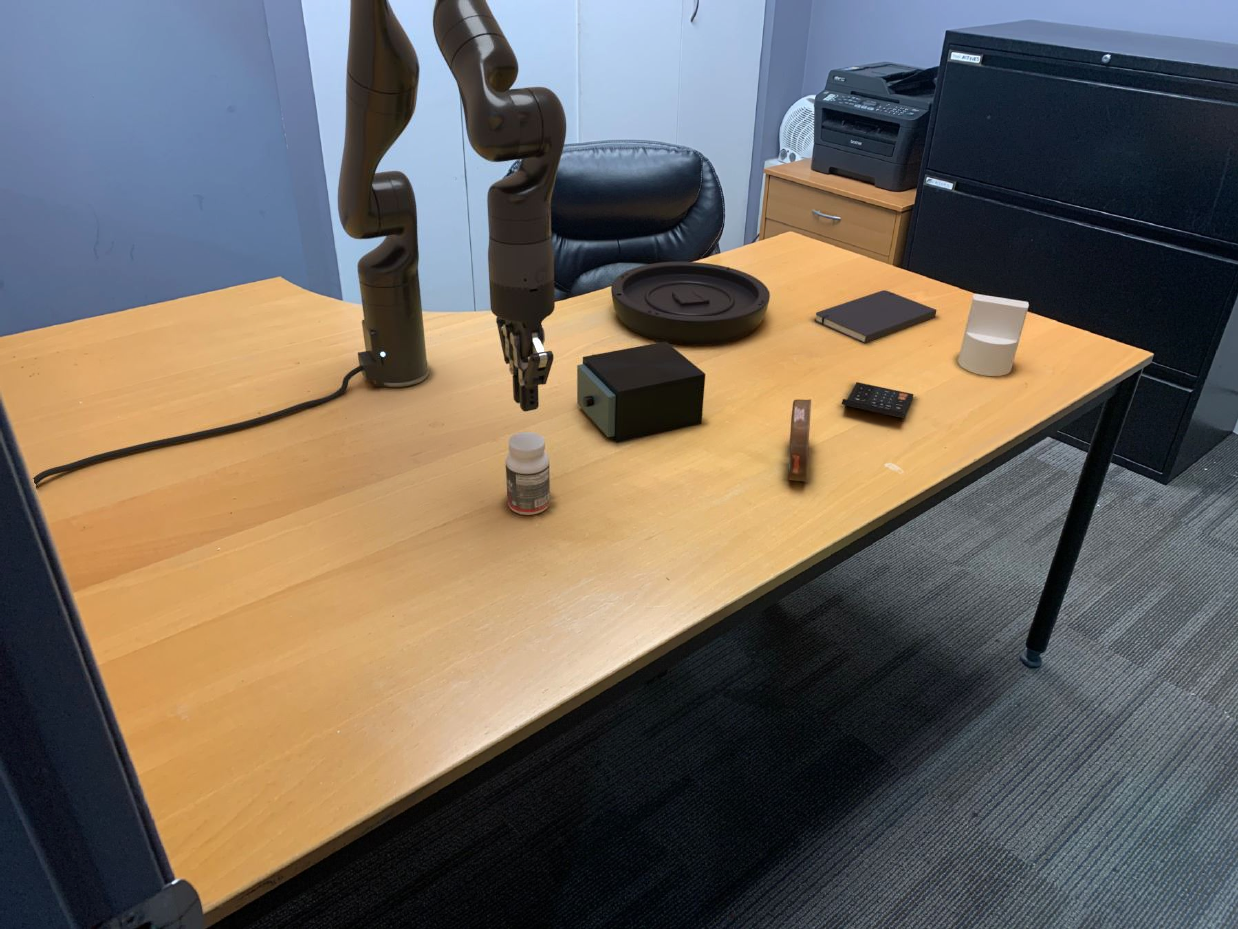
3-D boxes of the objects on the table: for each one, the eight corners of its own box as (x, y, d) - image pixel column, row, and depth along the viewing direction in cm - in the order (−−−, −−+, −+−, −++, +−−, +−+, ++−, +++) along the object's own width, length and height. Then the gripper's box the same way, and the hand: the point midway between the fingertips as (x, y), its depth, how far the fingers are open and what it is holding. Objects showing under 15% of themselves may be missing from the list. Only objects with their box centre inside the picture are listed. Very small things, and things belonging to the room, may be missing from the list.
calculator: (912, 398, 153) (916, 382, 151) (899, 430, 144) (902, 413, 142) (855, 386, 156) (858, 370, 154) (839, 416, 147) (842, 399, 145)
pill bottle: (507, 492, 127) (504, 429, 121) (549, 491, 127) (548, 428, 122) (507, 517, 122) (504, 452, 116) (550, 516, 122) (549, 451, 117)
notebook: (864, 343, 171) (935, 317, 182) (866, 335, 170) (936, 309, 181) (812, 320, 179) (883, 296, 190) (813, 312, 178) (884, 289, 189)
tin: (805, 493, 128) (813, 441, 124) (782, 490, 129) (789, 438, 124) (808, 439, 141) (816, 389, 136) (787, 436, 141) (794, 387, 137)
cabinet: (616, 443, 138) (618, 391, 134) (582, 405, 148) (582, 356, 143) (701, 423, 144) (705, 373, 139) (663, 388, 154) (665, 341, 149)
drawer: (600, 439, 138) (601, 398, 134) (570, 405, 146) (569, 366, 142) (687, 419, 143) (689, 380, 139) (652, 388, 152) (654, 350, 148)
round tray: (729, 281, 195) (592, 294, 187) (732, 254, 192) (592, 266, 184) (793, 339, 171) (639, 357, 163) (797, 309, 168) (640, 326, 160)
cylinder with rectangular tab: (955, 370, 162) (971, 305, 156) (960, 350, 169) (975, 287, 163) (1010, 380, 159) (1028, 314, 153) (1012, 359, 166) (1029, 296, 160)
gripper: (471, 258, 111) (479, 387, 120) (511, 298, 101) (517, 436, 110) (530, 250, 114) (533, 377, 123) (575, 288, 103) (575, 424, 113)
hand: (526, 404), depth 116 cm, fingers closed
